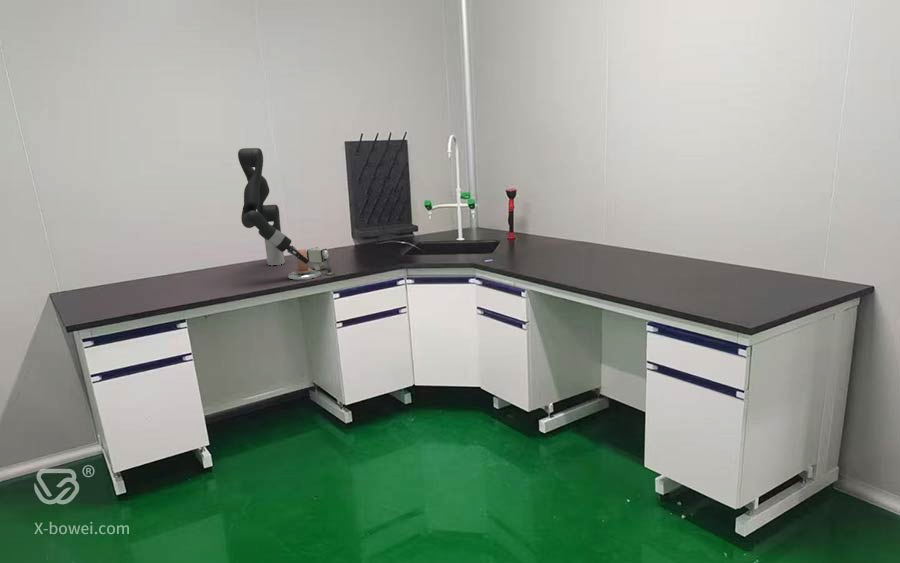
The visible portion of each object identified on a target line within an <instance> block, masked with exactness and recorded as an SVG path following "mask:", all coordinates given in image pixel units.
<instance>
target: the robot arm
mask: <svg viewBox="0 0 900 563" xmlns="http://www.w3.org/2000/svg"><path fill="white" fill-rule="evenodd" d="M237 157H238V158H237V159H238V162H239V165H240V167H241V169H242V171H243V174H244V175H245V177H246V180H247V183H246V185H245V187H244V190H243V206H242V212H241V215H240V217H241V223H242V225H243V227H244V228H247V229H253V228H254V227H255V228H256V229H257V230H258V234H259V236H261V237H262V238H263V239H264V245H265V254H266V260H267V261H266V263H267V266H269V265H271V266H270V267H274V266H273V265H277V266H281V264H282V265H285V264H284V263H286V262H285V254H284V252H285V251H286V250H287V251H286V252H287V253H288V254H289V255H292V256H293V257H294V258H298V259H299V260H301V261H303V262H304V263H305V264H307V263H308V264H309V262H310V261H309V260H308V259H306V258H305V257H304V256H303V255H301V254H300V252H299V251H298V250H299V249H296V248H297V247H295V246H294V245H291V244H292V239H291V238H289V237H288V236H287V235H285V234H284V233H283V232H282V229H281V220H280V217H281V216H280V209H279V206H278V205H277V204H264V203H265V201H266V199H267V198H268V197H269V195H270V187H269V184H268V181H267V178H265V177H264V176H263V175H262V174H263V169H264V168H263V167H264V154H263V151H262V149H261V148H259V147H247V148H246V147H244V148H240V149H239V150H238V152H237ZM270 223H273V224H270ZM299 254H300V256H299V257H298V255H299ZM298 259H297V260H298Z"/></svg>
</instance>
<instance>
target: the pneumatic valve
mask: <svg viewBox="0 0 900 563" xmlns="http://www.w3.org/2000/svg"><path fill="white" fill-rule="evenodd" d="M323 250H327V251H328V249H327V248H321V247H320V248H318V247H317V246H316V247H313V248H309V249H306V251H307V259H308V260H309V262H314V263H313V265H312V267H313V270H314V269H315V270H318V271H321V270H323V269H324V268H325V264H324V262H327V259H324V258H323V256H322V251H323Z"/></svg>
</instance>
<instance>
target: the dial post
mask: <svg viewBox="0 0 900 563" xmlns="http://www.w3.org/2000/svg"><path fill="white" fill-rule="evenodd" d="M330 253H331V252H330V250H328V249H327V250H323V251H322V256H323V258H324V259H327V261H326V266H327V267H326V268H327V271H326V272H325V273H324V274H326V275H325V276H332V275H331V274H333V275H335V272H334V271H332V265H331V254H330Z"/></svg>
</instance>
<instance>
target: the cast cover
mask: <svg viewBox="0 0 900 563" xmlns="http://www.w3.org/2000/svg"><path fill="white" fill-rule="evenodd" d="M297 250H298V251H299V252H300V254H301V255H303V256H304V257H305V258H306V259H307V249H297ZM300 254H299V255H298V257H299V256H300ZM296 258H297V257H296ZM296 260H297V266H298V269H295V272H296V273H297V274H305V273H310V272H312V270H313V269H312V268H309V262H308V263H307V264H305V263H304V262H303V261H301V260H299V259H298V258H297V259H296Z"/></svg>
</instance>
